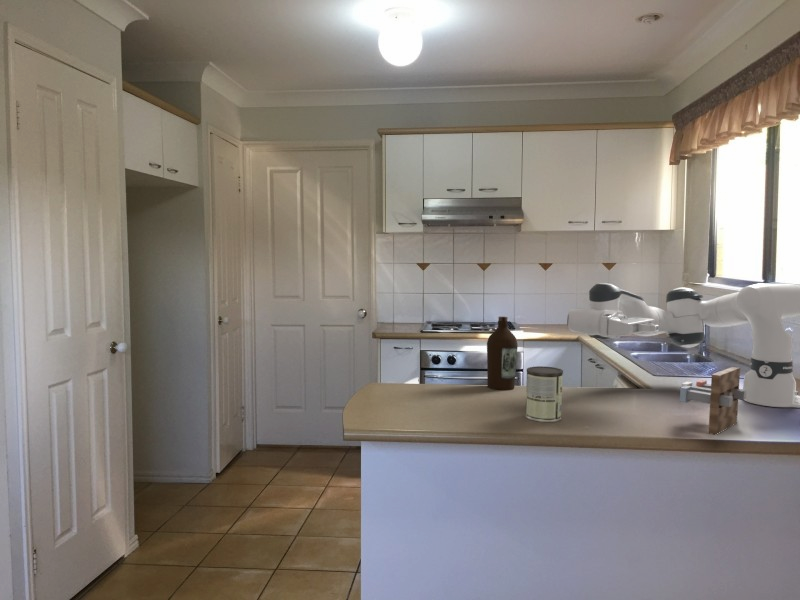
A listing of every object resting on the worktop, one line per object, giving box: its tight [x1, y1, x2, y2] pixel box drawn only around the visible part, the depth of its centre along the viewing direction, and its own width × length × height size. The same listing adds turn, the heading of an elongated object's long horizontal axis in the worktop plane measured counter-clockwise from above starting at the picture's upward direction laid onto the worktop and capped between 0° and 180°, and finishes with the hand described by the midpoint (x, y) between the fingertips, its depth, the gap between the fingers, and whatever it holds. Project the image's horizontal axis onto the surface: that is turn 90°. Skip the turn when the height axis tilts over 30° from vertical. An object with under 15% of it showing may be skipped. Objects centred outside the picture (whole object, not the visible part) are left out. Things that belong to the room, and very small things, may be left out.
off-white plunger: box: [681, 381, 732, 396], centre depth 178 cm, size 4×12×4 cm, turn 45°
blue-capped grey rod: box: [679, 386, 733, 407], centre depth 173 cm, size 4×12×4 cm, turn 45°
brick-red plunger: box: [695, 379, 747, 401], centre depth 181 cm, size 4×12×4 cm, turn 45°
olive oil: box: [486, 316, 519, 391], centre depth 222 cm, size 11×11×25 cm
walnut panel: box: [708, 366, 741, 435], centre depth 175 cm, size 17×2×16 cm, turn 135°
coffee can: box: [525, 365, 564, 423], centre depth 183 cm, size 10×10×14 cm
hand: (657, 328), depth 193 cm, fingers closed
